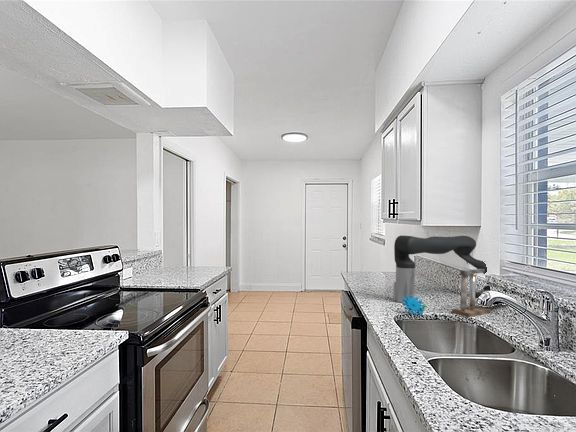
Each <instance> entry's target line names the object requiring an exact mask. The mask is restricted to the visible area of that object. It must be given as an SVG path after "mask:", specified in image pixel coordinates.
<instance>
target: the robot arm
mask: <svg viewBox="0 0 576 432" xmlns="http://www.w3.org/2000/svg"><path fill="white" fill-rule="evenodd" d="M476 247H477V241H476V240H475V239H474V238H473V237H471V236H469V235H457V236H429V237H425V238H424V237H417V236H412V235H403V234H402V235H399V236H397V237H395V240H394V245H393V248H394V263H395V281H394V282H393V299H392V300H393V301H395V302H397V303H401V304H402V303H403V302H405V301H403V298H406V297H405V296H406V295H408V296H409V299H410V295H413V296H414V297H413V298H412V299H415V285H416V284H415V282H416V281H415V280H416V263H415V261H413V260H412V259H411V257H410V255H417V254H429V255H430V254H432V255H442V254H443V255H444V254H447V253H449V252H451V251H453V252H454V254H456V255H457V256H458V257H459V258H460V259H462V260H464V261H465V262H466V263H468V264H469V265H471V266H472V267H474V269H485V273H486V272H487V267H486V264H485V263H484V262H485V261H484V262H483V260H479V259H476V258H474V257H473V256H472V255H471V253H472V252H474V251H475V250H474V249H476ZM485 273H482V274H483V275H484V274H485ZM489 285H490V284H489ZM489 285H485V286H483V288H481V289H478V290H476V293H475V299H479V298H478V297H479V296H480V295H481V294H482V293H483V292H485V291H490V286H489ZM406 300H407V298H406ZM407 301H408V300H407ZM405 303H406V302H405ZM406 304H407V303H406Z"/></svg>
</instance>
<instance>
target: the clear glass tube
mask: <svg viewBox="0 0 576 432" xmlns="http://www.w3.org/2000/svg"><path fill="white" fill-rule="evenodd" d="M477 276H478V273H475V274H470V276H469V296H468V297H469V299H468V300H469V301H468V303H469V304H468V307H471V308H472V309H473V308H475V306H476V298H475V293H476V291H477V289H476V287H477V285H476V283H477V282H476V281H477Z"/></svg>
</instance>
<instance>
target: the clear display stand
mask: <svg viewBox="0 0 576 432" xmlns="http://www.w3.org/2000/svg"><path fill="white" fill-rule="evenodd" d="M483 273H485V269H477V268H472V269H464V270H463V269H462V270H460V271H459V273H458V275H459V276H460V277H461V278H460V283H461V284H460V308H459V307H458V308H453V309H451V314H454V313H456V314H455V315H458V314H459V316H463V317H467V318H470V317H471V318H472V317H476V316H481V315H486V314H490V313H491V309H489V308H485V307H481V306H477V305H475V308H473V309H472V308H471V307H469V306H467V303H468V302H467V300H468V299H467V298H468V297H467V295H468V277H470V274H483Z"/></svg>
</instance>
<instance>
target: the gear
mask: <svg viewBox="0 0 576 432" xmlns="http://www.w3.org/2000/svg"><path fill="white" fill-rule="evenodd" d="M405 297H406V298H407V300H408V301H407V300H406V298H403V301H405V302H406V303H405V302H403V303H401V304H402V306H404V307H403V308H404V309H403V310H405V311H407V312H408V314H412V312H413V316H417V315H418V316H421V315H422V314H423V313H424V312H425V308H427V304H423V301H422V299H420V298H419V297H418V296H415V295H414V296H413V295H410V299H409V296H408V295H406V296H405ZM413 297H414V299H412V298H413ZM419 299H420V300H419Z"/></svg>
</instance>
